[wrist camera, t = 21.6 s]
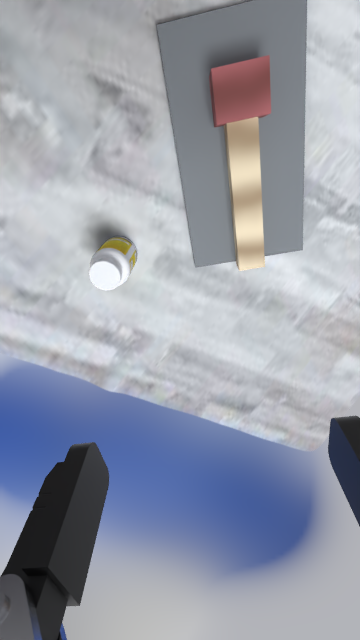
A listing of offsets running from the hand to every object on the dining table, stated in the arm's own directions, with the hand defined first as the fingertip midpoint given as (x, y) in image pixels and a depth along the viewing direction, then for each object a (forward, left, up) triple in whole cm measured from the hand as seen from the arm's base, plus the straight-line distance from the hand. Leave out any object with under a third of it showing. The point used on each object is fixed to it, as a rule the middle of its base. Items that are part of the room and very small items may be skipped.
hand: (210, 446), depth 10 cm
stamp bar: (+4, +8, -37) cm, 38 cm away
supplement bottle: (-9, -8, -38) cm, 40 cm away
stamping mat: (+2, +10, -38) cm, 40 cm away
